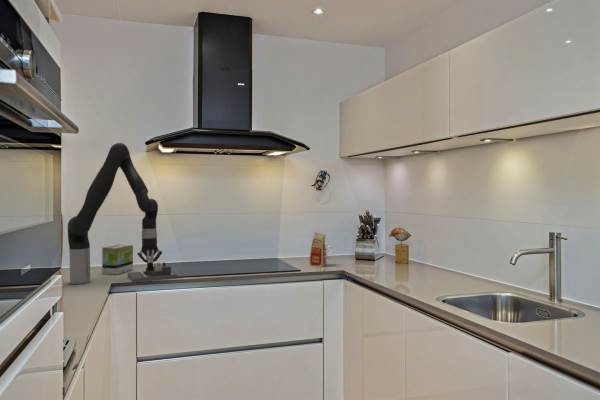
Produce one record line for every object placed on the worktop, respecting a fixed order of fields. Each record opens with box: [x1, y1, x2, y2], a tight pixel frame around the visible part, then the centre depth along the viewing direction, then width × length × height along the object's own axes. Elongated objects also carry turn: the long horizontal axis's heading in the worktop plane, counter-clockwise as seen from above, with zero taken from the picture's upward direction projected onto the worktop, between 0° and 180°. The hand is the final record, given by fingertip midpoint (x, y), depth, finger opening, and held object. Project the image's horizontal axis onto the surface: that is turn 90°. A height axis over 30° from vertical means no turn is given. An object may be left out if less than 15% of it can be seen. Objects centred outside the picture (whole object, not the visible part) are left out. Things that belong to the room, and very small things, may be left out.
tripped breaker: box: [153, 262, 163, 271], centre depth 240 cm, size 4×3×5 cm
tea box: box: [101, 244, 134, 275], centre depth 254 cm, size 15×10×15 cm
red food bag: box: [308, 231, 327, 268], centre depth 269 cm, size 9×9×20 cm
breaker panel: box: [127, 262, 178, 283], centre depth 239 cm, size 22×18×6 cm
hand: (150, 269), depth 238 cm, fingers closed
